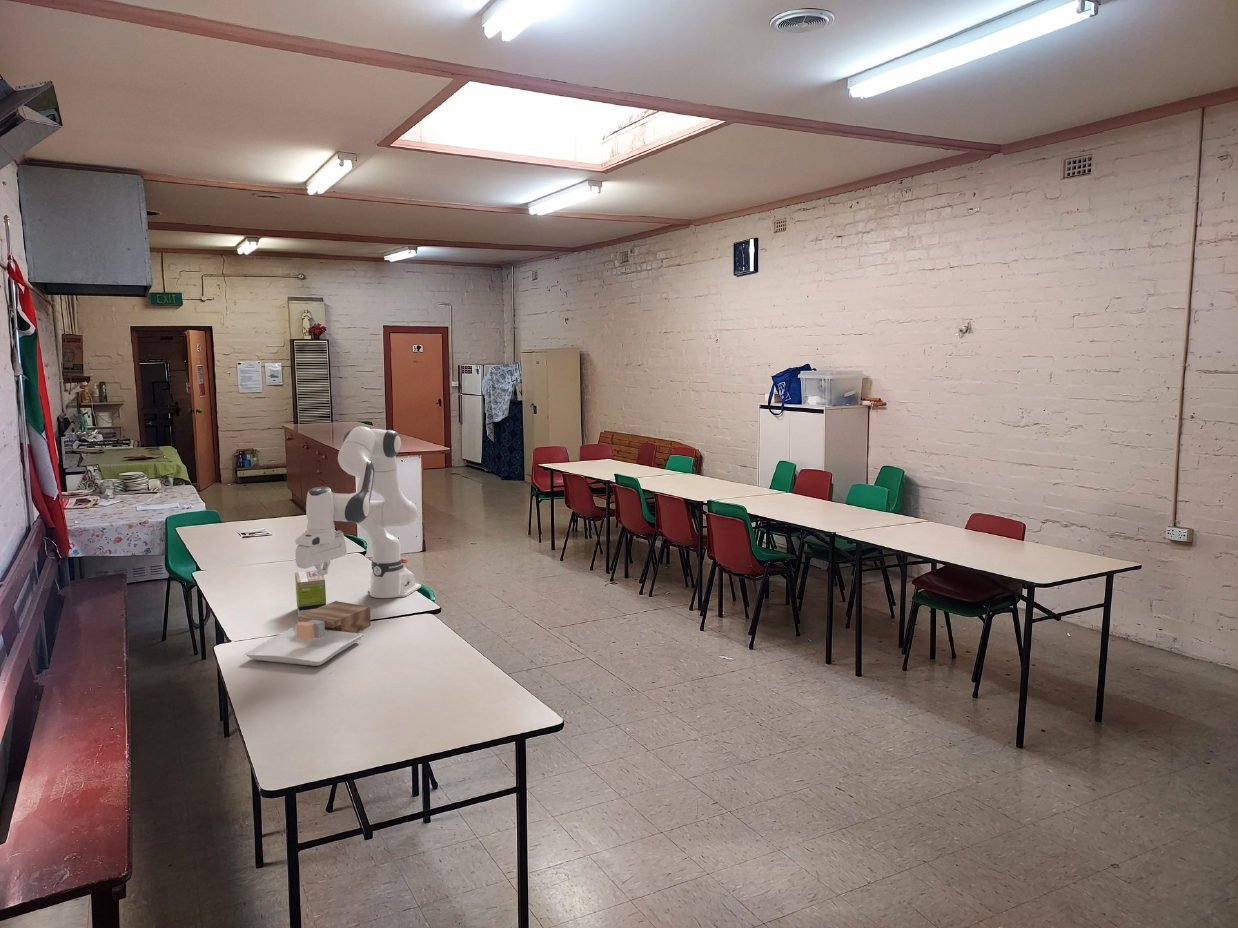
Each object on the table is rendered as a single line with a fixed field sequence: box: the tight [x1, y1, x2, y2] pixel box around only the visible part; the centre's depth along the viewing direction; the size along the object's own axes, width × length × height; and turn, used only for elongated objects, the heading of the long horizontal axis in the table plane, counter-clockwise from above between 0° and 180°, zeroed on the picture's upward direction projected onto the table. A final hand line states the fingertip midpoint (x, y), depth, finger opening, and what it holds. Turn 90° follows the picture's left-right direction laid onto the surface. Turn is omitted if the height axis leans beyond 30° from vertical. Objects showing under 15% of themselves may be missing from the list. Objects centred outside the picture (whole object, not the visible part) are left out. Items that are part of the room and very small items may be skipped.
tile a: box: [295, 622, 315, 641], centre depth 274 cm, size 5×5×3 cm
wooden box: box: [296, 600, 371, 633], centre depth 291 cm, size 19×16×7 cm
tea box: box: [294, 569, 327, 616], centre depth 310 cm, size 15×10×15 cm, turn 25°
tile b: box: [308, 620, 325, 638], centre depth 276 cm, size 5×5×3 cm
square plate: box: [244, 627, 364, 667], centre depth 271 cm, size 27×27×4 cm
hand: (322, 574), depth 278 cm, fingers closed
